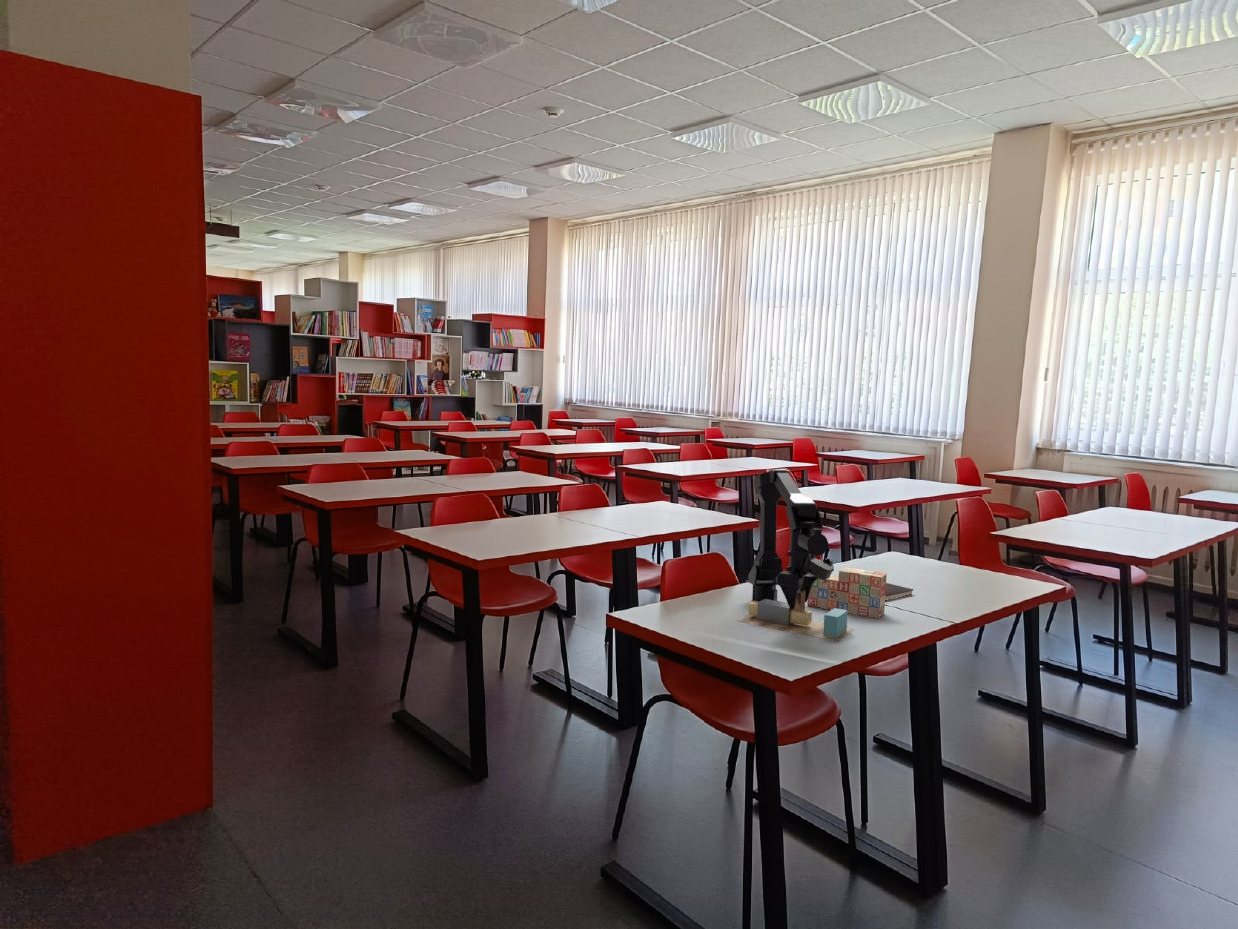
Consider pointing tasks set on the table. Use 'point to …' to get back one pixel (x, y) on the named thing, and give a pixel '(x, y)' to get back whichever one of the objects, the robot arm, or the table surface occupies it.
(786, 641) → the table surface
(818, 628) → the base board
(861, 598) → the stack of blocks
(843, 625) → the socket block
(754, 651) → the table surface
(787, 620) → the sleeve
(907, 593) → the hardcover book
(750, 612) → the l-shaped wooden step
